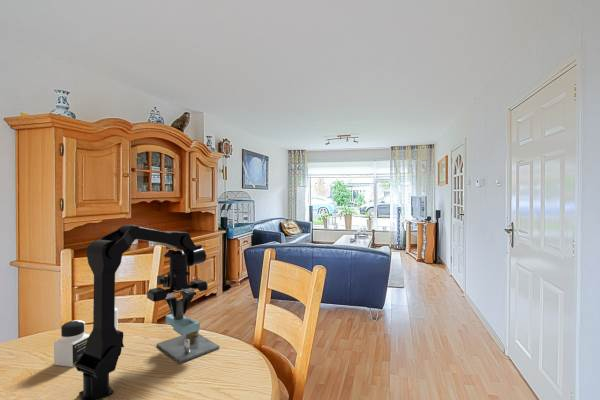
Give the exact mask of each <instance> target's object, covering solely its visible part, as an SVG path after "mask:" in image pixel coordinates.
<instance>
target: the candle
mask: <svg viewBox="0 0 600 400" xmlns="http://www.w3.org/2000/svg"><path fill="white" fill-rule="evenodd" d="M114 325H115V329H116V330H118V331H119V308H118V307H116V306H115V323H114Z"/></svg>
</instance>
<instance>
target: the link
mask: <svg viewBox="0 0 600 400" xmlns="http://www.w3.org/2000/svg"><path fill="white" fill-rule="evenodd" d="M183 305H184V300H183V299H182V298H176V315H175V317H173V316H172V313H169V314H166V315H165V323H166V324H168V325H170V326H171V327H172V329H173V331H174V332H176V333H177V334H178V335H179V336H183V335H186V334H189V333H192V332H195V331H198V330H199V331H200V330H201V329H200V328H201V326H200V325H201V324H200V321H198V320H196V319H194V318H192V317H189V318H188V317H186V316H185V315H184V314H183Z"/></svg>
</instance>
